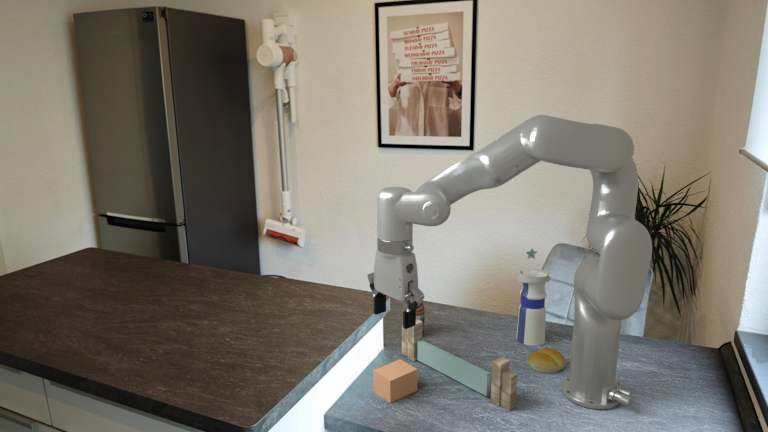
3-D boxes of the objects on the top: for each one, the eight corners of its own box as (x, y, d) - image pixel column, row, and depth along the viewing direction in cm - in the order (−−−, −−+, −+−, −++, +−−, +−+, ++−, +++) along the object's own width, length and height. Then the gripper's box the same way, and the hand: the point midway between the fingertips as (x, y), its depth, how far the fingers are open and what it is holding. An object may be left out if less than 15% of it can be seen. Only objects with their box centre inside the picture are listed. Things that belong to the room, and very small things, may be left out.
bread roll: (520, 364, 134) (521, 349, 133) (545, 354, 139) (546, 340, 138) (546, 378, 127) (547, 363, 126) (571, 368, 132) (572, 353, 131)
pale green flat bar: (496, 396, 119) (496, 375, 118) (490, 399, 118) (491, 378, 117) (421, 357, 136) (422, 339, 135) (416, 360, 135) (416, 341, 134)
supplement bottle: (404, 329, 153) (404, 292, 151) (424, 330, 152) (425, 293, 150) (401, 339, 148) (401, 300, 145) (423, 340, 147) (423, 301, 144)
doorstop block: (417, 390, 122) (417, 369, 121) (390, 403, 117) (390, 381, 116) (400, 380, 127) (400, 359, 126) (373, 392, 122) (373, 370, 121)
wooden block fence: (516, 406, 116) (519, 364, 113) (508, 411, 114) (510, 369, 112) (408, 350, 141) (408, 315, 139) (400, 354, 139) (400, 318, 137)
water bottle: (507, 336, 149) (511, 250, 143) (531, 330, 152) (537, 246, 147) (526, 348, 142) (532, 258, 136) (552, 342, 145) (558, 254, 139)
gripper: (436, 251, 110) (434, 327, 114) (381, 234, 123) (381, 303, 127) (409, 258, 106) (408, 338, 109) (356, 240, 118) (356, 312, 122)
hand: (394, 319), depth 118 cm, fingers open, 9 cm apart
